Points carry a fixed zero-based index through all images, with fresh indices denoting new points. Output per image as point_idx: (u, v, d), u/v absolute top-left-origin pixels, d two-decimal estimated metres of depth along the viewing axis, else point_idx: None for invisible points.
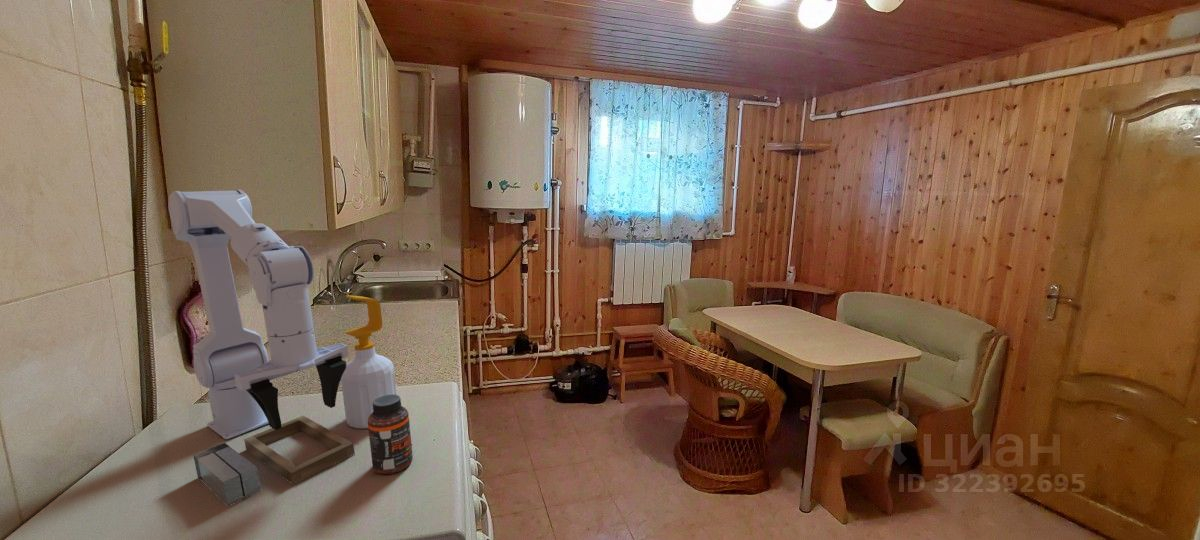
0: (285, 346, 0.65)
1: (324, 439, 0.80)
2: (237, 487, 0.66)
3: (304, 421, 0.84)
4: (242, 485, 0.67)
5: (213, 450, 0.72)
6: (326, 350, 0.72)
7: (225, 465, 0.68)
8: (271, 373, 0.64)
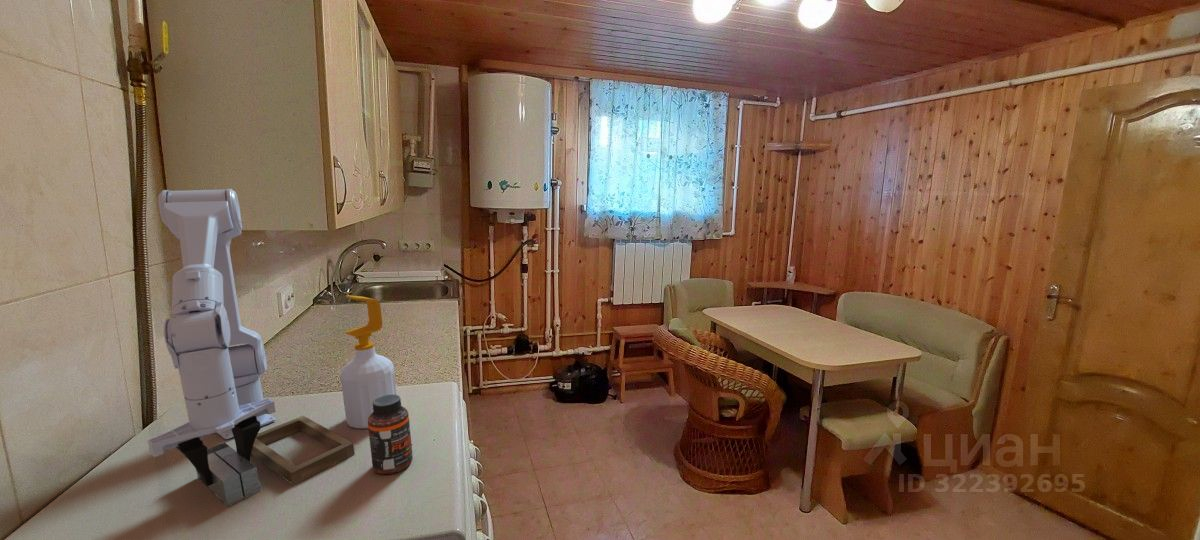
0: (201, 409, 0.65)
1: (324, 439, 0.80)
2: (237, 487, 0.66)
3: (304, 421, 0.84)
4: (242, 485, 0.67)
5: (213, 449, 0.72)
6: (251, 407, 0.72)
7: (225, 465, 0.68)
8: (186, 437, 0.64)
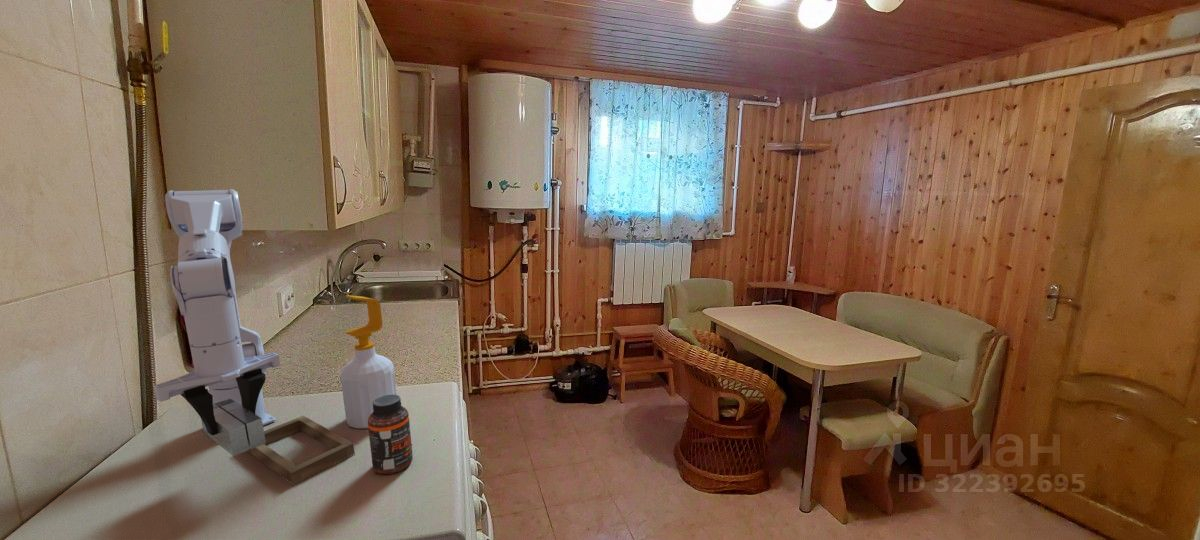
0: (207, 356, 0.65)
1: (324, 439, 0.80)
2: (243, 437, 0.66)
3: (304, 421, 0.84)
4: (248, 436, 0.67)
5: (219, 404, 0.72)
6: (256, 359, 0.72)
7: (231, 417, 0.68)
8: (192, 384, 0.64)
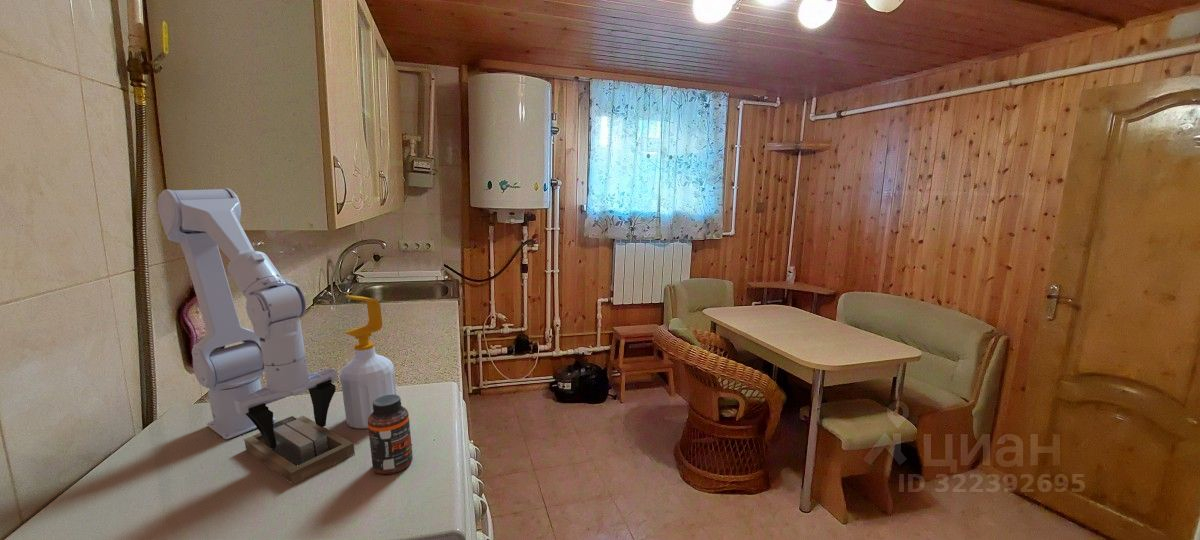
0: (279, 374, 0.73)
1: None
2: (311, 452, 0.74)
3: (304, 421, 0.84)
4: (315, 451, 0.75)
5: (284, 421, 0.81)
6: (317, 375, 0.80)
7: (298, 434, 0.76)
8: (267, 398, 0.72)
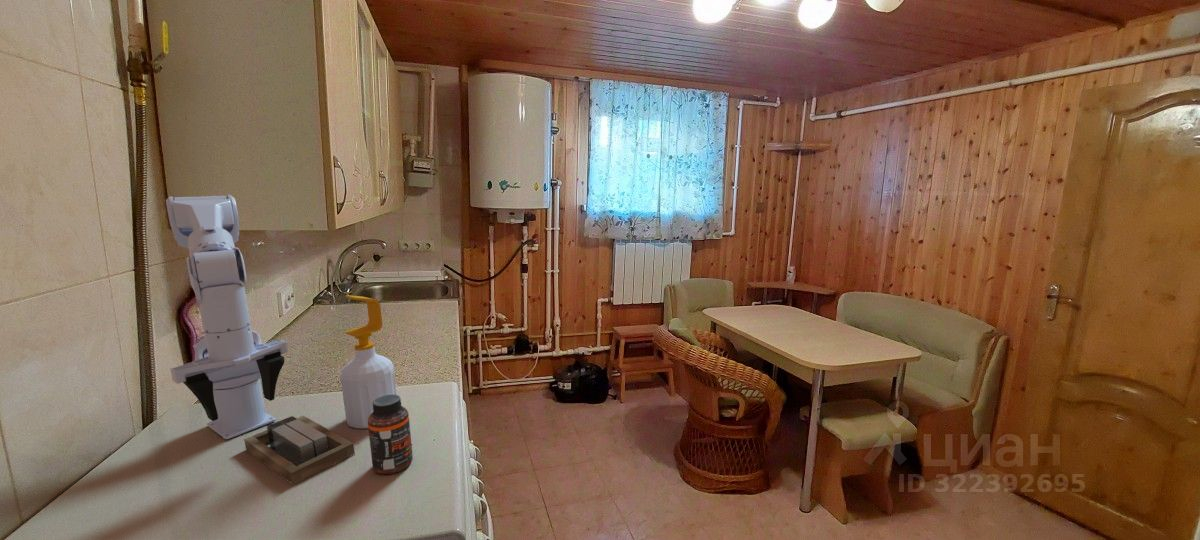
0: (220, 342, 0.69)
1: None
2: (311, 452, 0.74)
3: (304, 421, 0.84)
4: (315, 451, 0.75)
5: (284, 422, 0.81)
6: (265, 346, 0.76)
7: (298, 434, 0.76)
8: (206, 367, 0.68)
